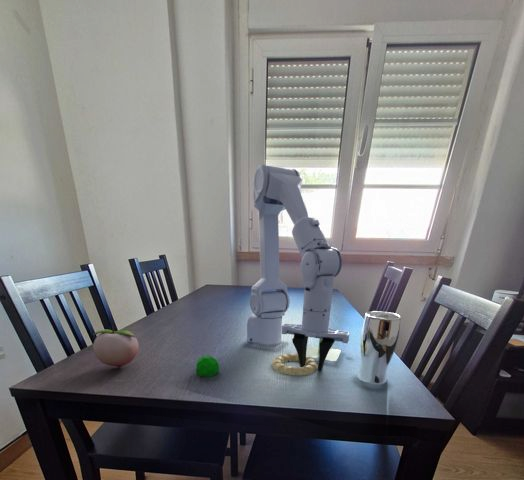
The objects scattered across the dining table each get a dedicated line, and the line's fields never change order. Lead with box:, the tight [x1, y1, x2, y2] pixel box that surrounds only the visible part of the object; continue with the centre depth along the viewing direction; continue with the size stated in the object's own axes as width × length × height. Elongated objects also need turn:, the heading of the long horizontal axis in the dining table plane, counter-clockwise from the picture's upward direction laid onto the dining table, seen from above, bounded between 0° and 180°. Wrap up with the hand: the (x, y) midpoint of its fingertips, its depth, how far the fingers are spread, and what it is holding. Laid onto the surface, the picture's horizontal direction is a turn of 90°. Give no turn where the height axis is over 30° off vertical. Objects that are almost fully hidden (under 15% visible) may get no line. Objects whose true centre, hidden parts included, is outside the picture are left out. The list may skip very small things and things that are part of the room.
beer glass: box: [357, 310, 402, 386], centre depth 58 cm, size 7×7×15 cm
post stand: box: [306, 338, 343, 363], centre depth 73 cm, size 9×9×6 cm
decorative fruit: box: [92, 325, 140, 368], centre depth 63 cm, size 9×8×10 cm
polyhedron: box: [195, 355, 220, 378], centre depth 61 cm, size 5×5×5 cm
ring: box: [271, 353, 318, 376], centre depth 66 cm, size 10×10×2 cm
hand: (311, 367), depth 64 cm, fingers open, 3 cm apart
